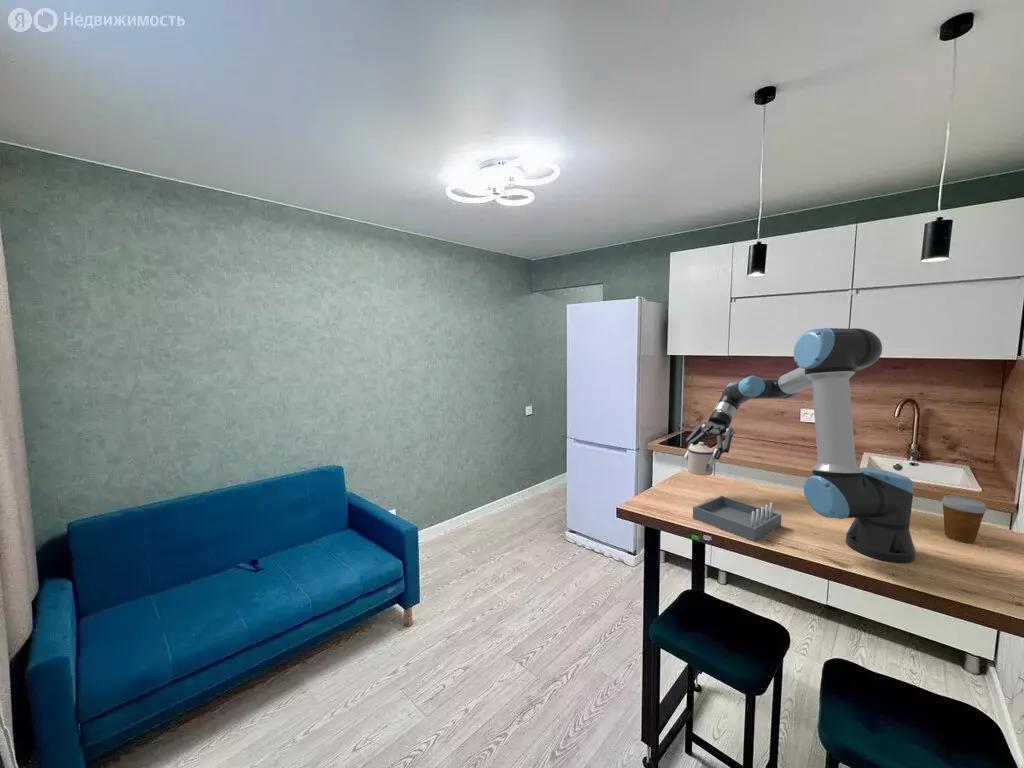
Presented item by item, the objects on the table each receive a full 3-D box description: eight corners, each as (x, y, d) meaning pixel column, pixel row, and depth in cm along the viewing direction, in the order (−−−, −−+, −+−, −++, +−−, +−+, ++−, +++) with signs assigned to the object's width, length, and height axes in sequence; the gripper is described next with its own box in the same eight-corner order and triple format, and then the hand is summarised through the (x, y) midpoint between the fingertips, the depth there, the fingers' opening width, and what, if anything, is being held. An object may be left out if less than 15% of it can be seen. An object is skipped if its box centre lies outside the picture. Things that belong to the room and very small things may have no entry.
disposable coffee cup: (969, 547, 121) (974, 508, 120) (929, 533, 130) (933, 496, 129) (991, 543, 124) (996, 504, 123) (950, 529, 133) (954, 493, 132)
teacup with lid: (711, 477, 152) (712, 446, 151) (684, 473, 157) (686, 443, 156) (715, 469, 162) (717, 440, 161) (690, 465, 167) (691, 437, 166)
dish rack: (780, 526, 135) (782, 502, 135) (753, 541, 125) (755, 516, 124) (720, 506, 152) (721, 485, 151) (692, 518, 142) (693, 495, 141)
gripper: (753, 426, 157) (729, 475, 150) (699, 418, 175) (676, 461, 168) (747, 414, 154) (722, 463, 146) (693, 406, 171) (668, 450, 164)
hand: (697, 462), depth 157 cm, fingers closed on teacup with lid, 9 cm apart
